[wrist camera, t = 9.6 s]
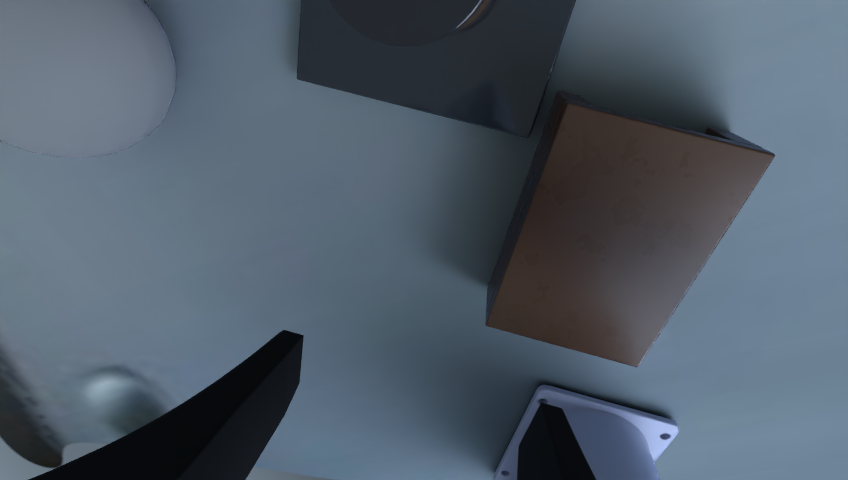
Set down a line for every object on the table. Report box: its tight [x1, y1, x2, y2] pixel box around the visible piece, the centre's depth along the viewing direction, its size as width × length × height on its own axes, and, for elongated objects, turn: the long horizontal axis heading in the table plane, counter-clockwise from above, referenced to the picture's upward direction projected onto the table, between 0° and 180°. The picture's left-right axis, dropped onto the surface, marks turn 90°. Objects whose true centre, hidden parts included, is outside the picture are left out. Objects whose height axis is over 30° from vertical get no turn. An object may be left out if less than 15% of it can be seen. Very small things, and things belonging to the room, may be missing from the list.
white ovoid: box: [0, 0, 176, 158], centre depth 16 cm, size 10×7×7 cm
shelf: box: [486, 90, 775, 367], centre depth 18 cm, size 10×7×3 cm
